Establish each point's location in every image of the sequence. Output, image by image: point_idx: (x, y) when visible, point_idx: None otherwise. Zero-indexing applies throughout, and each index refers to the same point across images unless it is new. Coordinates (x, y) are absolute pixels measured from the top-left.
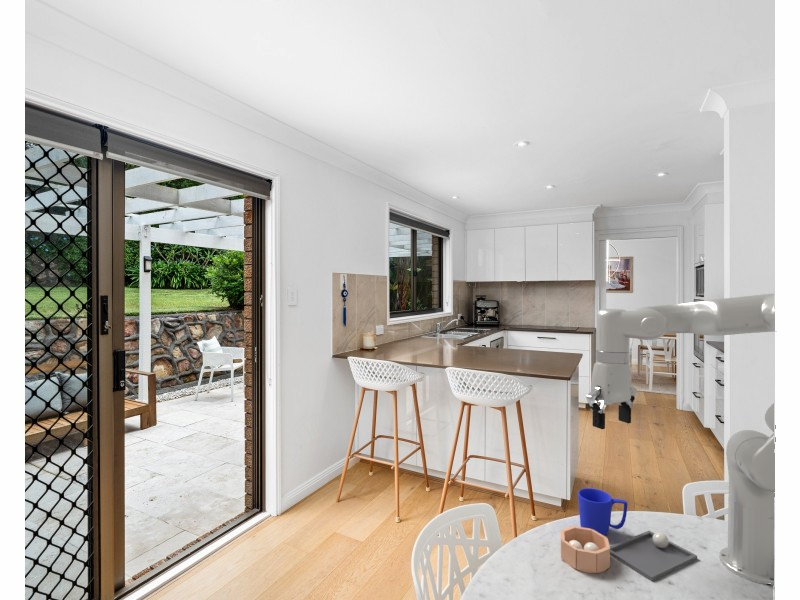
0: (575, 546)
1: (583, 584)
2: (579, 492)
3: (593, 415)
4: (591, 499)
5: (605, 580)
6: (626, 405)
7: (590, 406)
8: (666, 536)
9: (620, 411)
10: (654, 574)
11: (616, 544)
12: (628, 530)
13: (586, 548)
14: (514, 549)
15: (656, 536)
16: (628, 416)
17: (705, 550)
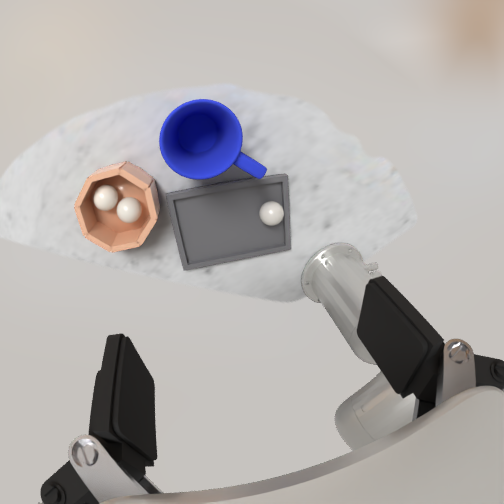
0: (99, 208)
1: (90, 247)
2: (174, 114)
3: (91, 415)
4: (214, 111)
5: None
6: (417, 396)
7: (56, 482)
8: (280, 221)
9: (399, 333)
10: (192, 267)
11: (194, 192)
12: (264, 149)
13: (117, 213)
14: (35, 152)
15: (265, 216)
16: (375, 359)
17: (321, 231)
